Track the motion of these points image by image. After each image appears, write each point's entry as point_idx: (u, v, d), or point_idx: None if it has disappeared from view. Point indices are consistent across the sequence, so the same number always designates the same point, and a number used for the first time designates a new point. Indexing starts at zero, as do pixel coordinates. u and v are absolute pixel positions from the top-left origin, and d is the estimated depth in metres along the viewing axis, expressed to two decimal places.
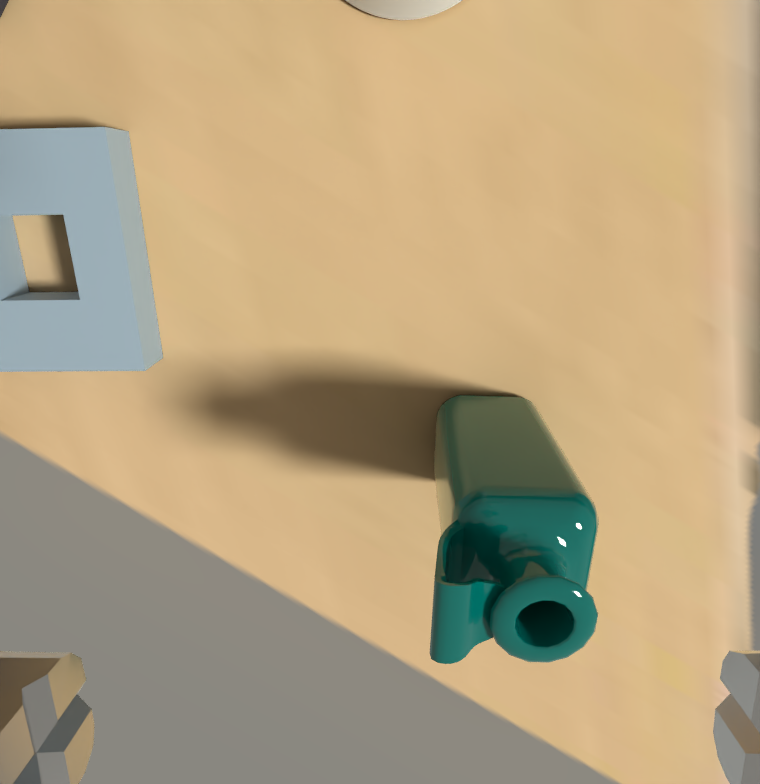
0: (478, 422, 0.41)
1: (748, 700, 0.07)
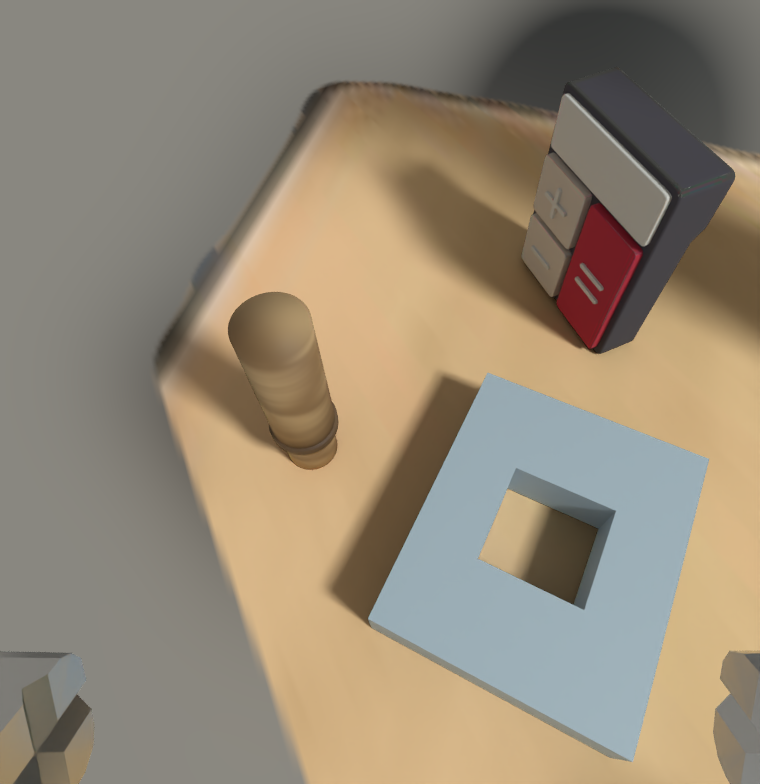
0: None
1: (748, 700, 0.07)
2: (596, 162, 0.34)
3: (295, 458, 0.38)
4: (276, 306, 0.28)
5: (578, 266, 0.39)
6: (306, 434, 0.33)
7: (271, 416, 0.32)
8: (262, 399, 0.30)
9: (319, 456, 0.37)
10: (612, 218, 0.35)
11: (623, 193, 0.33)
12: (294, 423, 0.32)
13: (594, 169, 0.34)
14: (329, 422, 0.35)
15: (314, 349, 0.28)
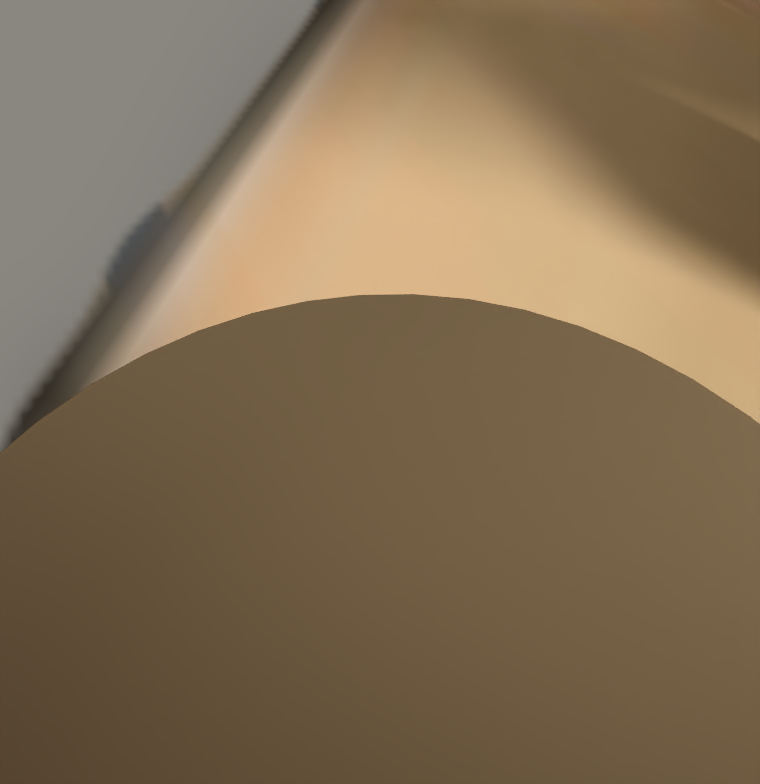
0: None
1: None
2: None
3: None
4: (437, 468, 0.02)
5: None
6: None
7: None
8: None
9: None
10: None
11: None
12: None
13: None
14: None
15: None
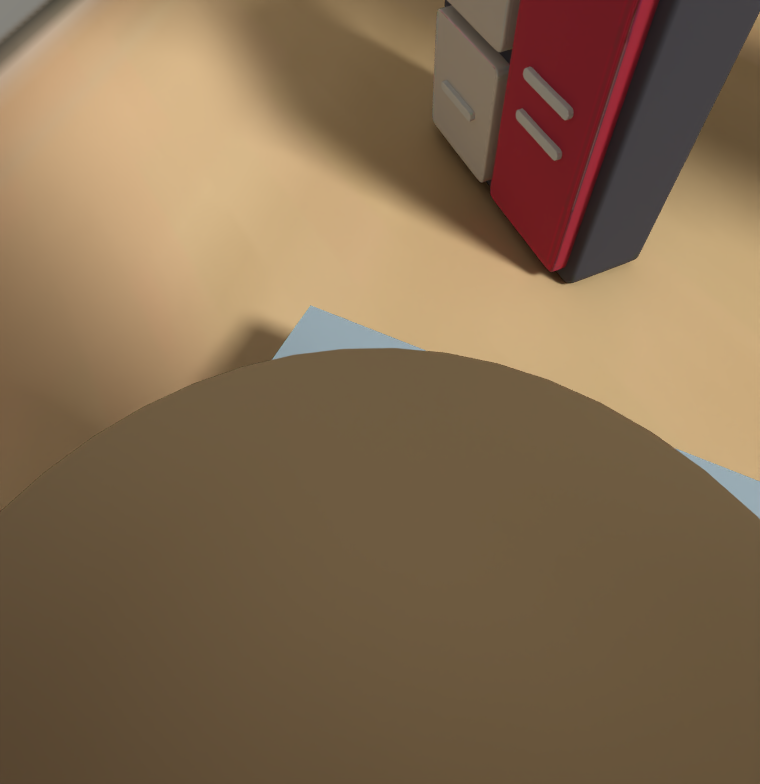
0: None
1: None
2: None
3: None
4: (412, 520, 0.02)
5: (521, 82, 0.18)
6: None
7: None
8: None
9: None
10: None
11: None
12: None
13: None
14: None
15: None
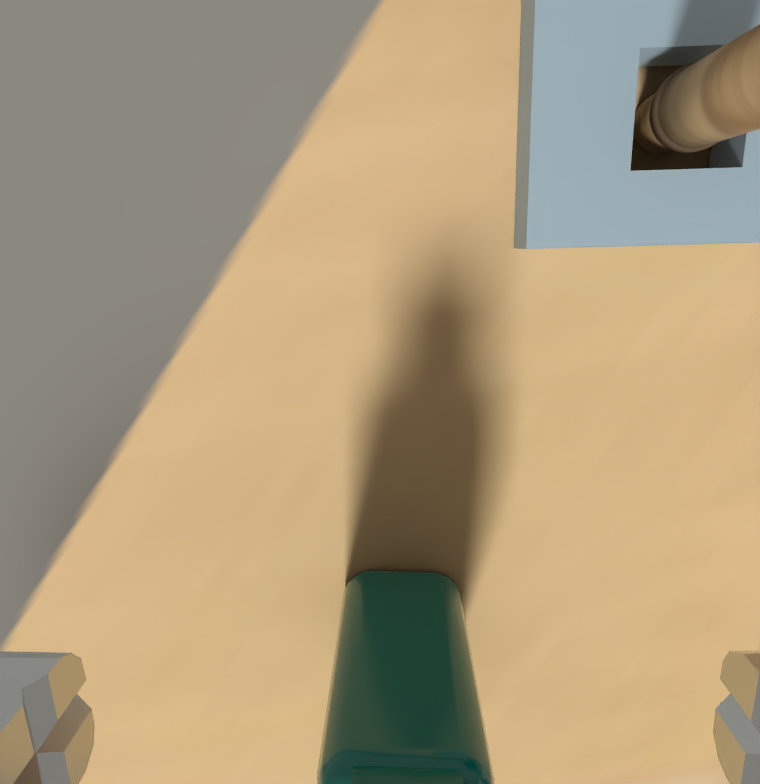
0: None
1: (748, 700, 0.07)
2: None
3: (643, 117, 0.33)
4: None
5: None
6: (682, 130, 0.29)
7: (695, 86, 0.26)
8: (717, 71, 0.25)
9: (656, 143, 0.33)
10: None
11: None
12: (695, 116, 0.27)
13: None
14: (705, 144, 0.29)
15: None
